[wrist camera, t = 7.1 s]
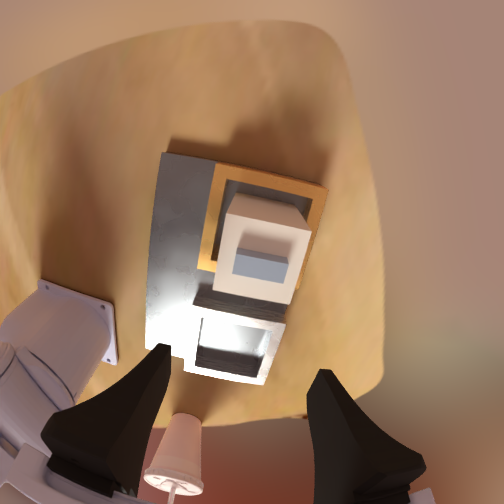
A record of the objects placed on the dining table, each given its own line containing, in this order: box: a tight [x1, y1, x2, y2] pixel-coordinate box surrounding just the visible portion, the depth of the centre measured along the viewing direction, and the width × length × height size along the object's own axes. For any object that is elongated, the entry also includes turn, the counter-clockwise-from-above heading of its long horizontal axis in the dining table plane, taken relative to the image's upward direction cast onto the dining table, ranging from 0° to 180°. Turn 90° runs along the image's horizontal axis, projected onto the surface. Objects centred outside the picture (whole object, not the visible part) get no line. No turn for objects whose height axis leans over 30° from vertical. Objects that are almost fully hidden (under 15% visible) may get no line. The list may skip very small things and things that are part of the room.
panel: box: [146, 152, 329, 385], centre depth 20 cm, size 11×17×2 cm, turn 167°
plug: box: [213, 192, 312, 305], centre depth 16 cm, size 4×4×7 cm
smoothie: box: [144, 413, 204, 504], centre depth 22 cm, size 6×6×14 cm
